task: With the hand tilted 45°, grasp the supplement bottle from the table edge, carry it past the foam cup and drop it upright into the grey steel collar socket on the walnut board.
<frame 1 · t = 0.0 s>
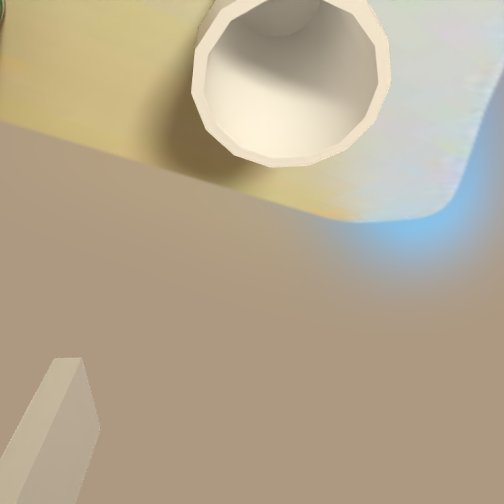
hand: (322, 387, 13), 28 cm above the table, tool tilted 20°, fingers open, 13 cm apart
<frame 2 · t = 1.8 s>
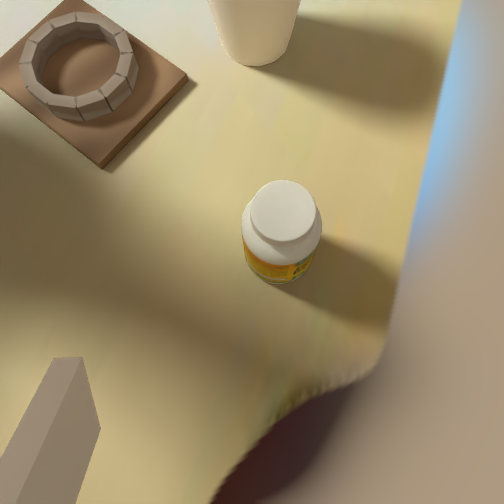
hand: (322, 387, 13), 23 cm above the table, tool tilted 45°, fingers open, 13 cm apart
socket board: (88, 80, 43), on the table
foam cup: (255, 38, 44), on the table
supplement bottle: (278, 253, 38), on the table
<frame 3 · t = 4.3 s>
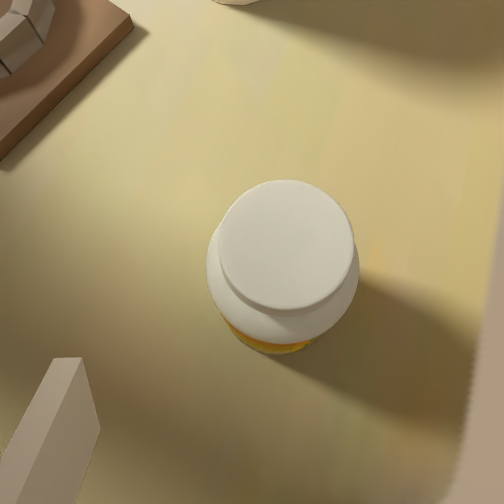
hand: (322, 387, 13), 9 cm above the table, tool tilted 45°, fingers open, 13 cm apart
supplement bottle: (276, 300, 23), on the table
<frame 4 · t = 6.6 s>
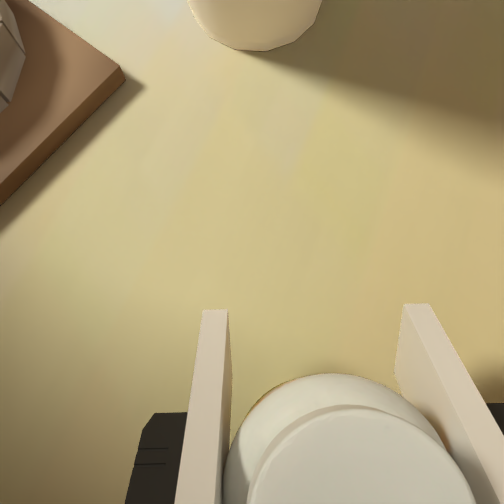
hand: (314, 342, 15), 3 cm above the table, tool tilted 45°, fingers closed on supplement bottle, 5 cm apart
supplement bottle: (310, 455, 17), on the table, touching gripper
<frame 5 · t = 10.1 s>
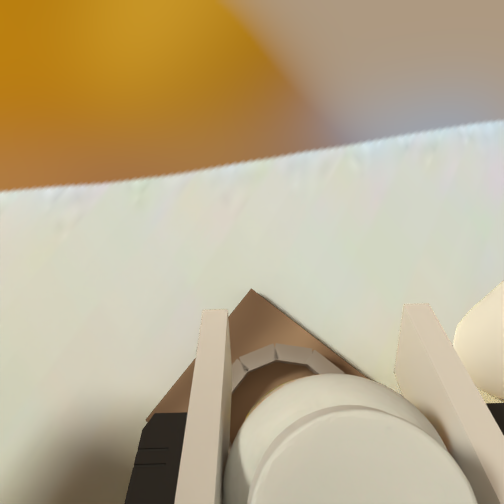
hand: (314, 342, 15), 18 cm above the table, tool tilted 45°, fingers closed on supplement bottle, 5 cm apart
socket board: (283, 420, 32), on the table
foam cup: (499, 349, 33), on the table
supplement bottle: (310, 455, 17), point 15 cm above the table, touching gripper
when the fingers open (6 cm above the table, at t = 13.5 s): supplement bottle drops 1 cm, resting on socket board.
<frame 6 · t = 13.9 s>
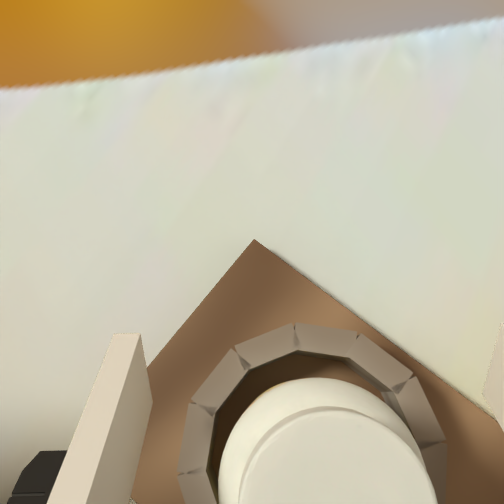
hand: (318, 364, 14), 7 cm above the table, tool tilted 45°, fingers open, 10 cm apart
socket board: (304, 448, 20), on the table
supplement bottle: (302, 451, 19), point 1 cm above the table, touching socket board
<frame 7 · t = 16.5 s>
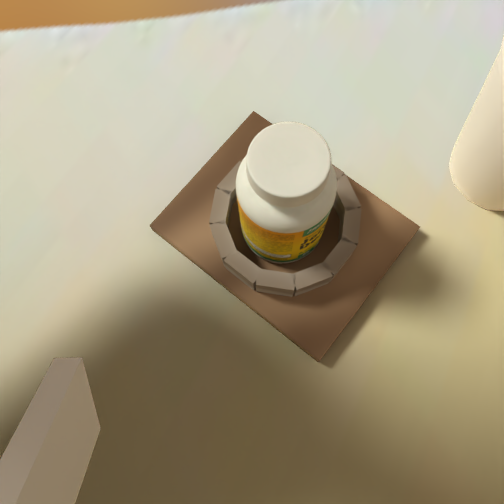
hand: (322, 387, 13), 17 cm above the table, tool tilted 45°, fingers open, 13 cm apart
socket board: (283, 231, 33), on the table
foam cup: (493, 170, 34), on the table
supplement bottle: (281, 227, 32), point 1 cm above the table, touching socket board
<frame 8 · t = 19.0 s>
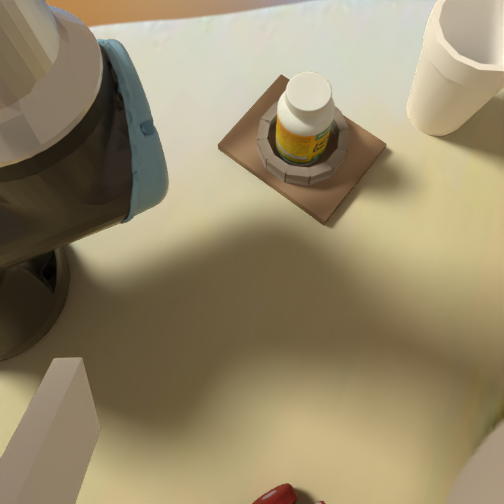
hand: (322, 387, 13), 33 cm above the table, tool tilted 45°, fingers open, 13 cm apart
socket board: (301, 148, 52), on the table
foam cup: (434, 111, 53), on the table
supplement bottle: (300, 145, 51), point 1 cm above the table, touching socket board
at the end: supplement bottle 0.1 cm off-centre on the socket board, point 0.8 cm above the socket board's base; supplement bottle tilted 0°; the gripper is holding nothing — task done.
